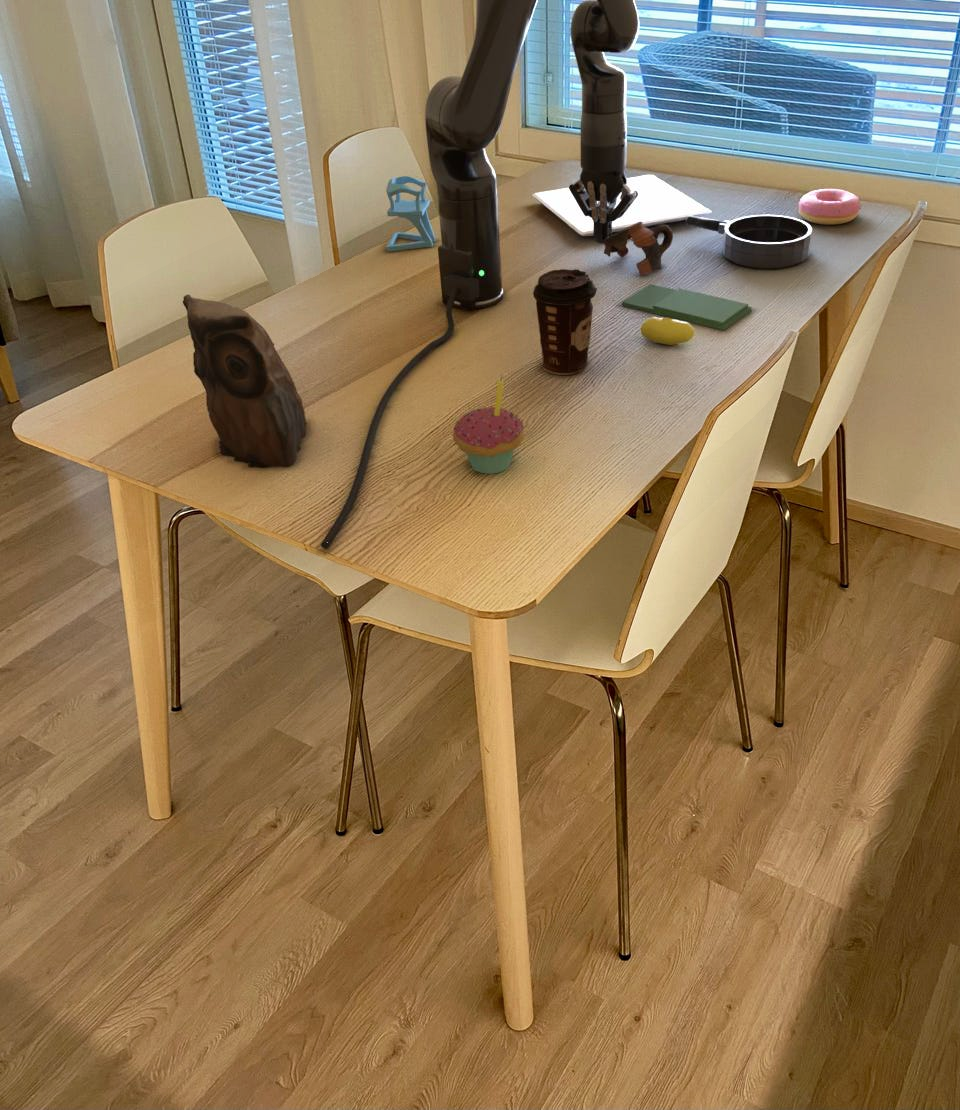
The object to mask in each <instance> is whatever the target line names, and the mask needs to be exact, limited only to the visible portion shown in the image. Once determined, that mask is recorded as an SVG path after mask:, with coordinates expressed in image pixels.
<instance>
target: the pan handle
mask: <svg viewBox="0 0 960 1110" xmlns="http://www.w3.org/2000/svg"><path fill="white" fill-rule="evenodd" d="M731 221H732V220H717V219H712V218H707V217H703V216H700V217H696V216H689V217H688V218H687V219H686V220H685V224H686V225H687V226H688V227H692V228H696V229H702V230H708V231H712V232H717V234H720V235H724V228H725V226H726V225H727V224H728V223H729V222H731Z"/></svg>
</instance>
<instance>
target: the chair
mask: <svg viewBox="0 0 960 1110" xmlns="http://www.w3.org/2000/svg"><path fill="white" fill-rule="evenodd" d="M407 184H414V185H417V186H419V187H421V190H418V189H416V188H413V187H411V186H409V185H407ZM427 184H428V181H423V180H420V179H418V178H416V177H414V176H408V175H404V176H403V175H402V176H398V177H396V176H395V177H391V179H389V180H388V181H387V186H386V189H385V190H386V195H387V198H388V200H389V204H390V205H389V206H390V207H389V208H388V209H387V211H386V214H387V217H399V218H403V219H406V220H408V221H409V222H410V223H412V225H413V226H414V227H415V229H416V230H417V231H418V233H411V232H402V231H396V232H394V233H393V235H392V236H391V238H390V239H389V241H388V243H387V244H386V245H385V248H386V249H385V250H386V252H396V251H398V252H399V251H403V250H405V251H406V250H414V249H421V248H432V247H434V243H435V242H437V241H436V236H435V233H434V231H433V227H432V225H431V221H430V217H429V215H428V211H427V209H428V207H429V206H430V199H427V198H426V194H425V193H426V187H427ZM402 193H403V194H404V193H405V194H409V195H412V196H414V197H415V199H413V200H407V199H402V197H401V194H402ZM394 196H395V199H394V198H393V197H394ZM398 239H403V240H411V241H412V242H404V243H397V244H395V243H396V241H397V240H398Z"/></svg>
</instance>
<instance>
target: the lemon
mask: <svg viewBox="0 0 960 1110" xmlns="http://www.w3.org/2000/svg"><path fill="white" fill-rule="evenodd" d="M639 329H640V334H641V336H642V337H643V338H645V339H646V340H648V341H651V342H654V343H659V344H663V345H668V346H675V345H678V344H681V343H686V342H688V341H690V340H691V339H693V338H694V336H695V329H694V327H693V326H692V324H691V323H690V322H687V321H683V320H679V319H675V318H671V317H659V316H658V317H657V316H651V317H649V318H648V319H646V320H645V321H643V323H642V324H641V326H640V328H639Z"/></svg>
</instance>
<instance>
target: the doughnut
mask: <svg viewBox="0 0 960 1110" xmlns="http://www.w3.org/2000/svg"><path fill="white" fill-rule="evenodd" d="M797 207H798V213H799V215H800V216H801V218H803V219H804V220H805V221H807V222H810V223H813V224H818V225H828V226H829V225H830V226H831V225H841V224H846V223H849V222H851V221H854V219H855V218H857V216H858V215H859V213H860V210H862V203H861V199H859V196H857V195H856V194H854V193H853V192H850V191H847V190H844V189H838V188H837V189H836V188H823V189H816V190H811V191H808V192H806V193H805V194H803V196H802V197H800V200H799V202H798V204H797Z"/></svg>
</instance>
